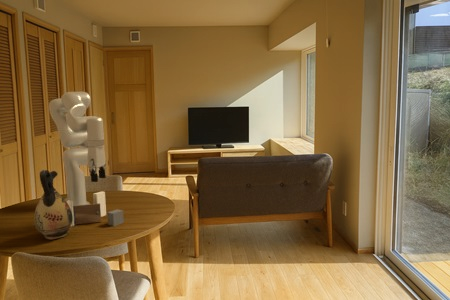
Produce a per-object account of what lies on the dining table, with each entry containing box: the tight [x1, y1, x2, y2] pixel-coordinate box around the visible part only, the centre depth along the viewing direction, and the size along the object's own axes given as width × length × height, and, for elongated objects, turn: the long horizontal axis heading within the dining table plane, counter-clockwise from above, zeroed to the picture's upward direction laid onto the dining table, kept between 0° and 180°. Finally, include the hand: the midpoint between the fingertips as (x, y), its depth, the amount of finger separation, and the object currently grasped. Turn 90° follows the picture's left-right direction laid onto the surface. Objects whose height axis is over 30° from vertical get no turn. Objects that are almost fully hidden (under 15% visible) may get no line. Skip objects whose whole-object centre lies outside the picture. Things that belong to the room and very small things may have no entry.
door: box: [73, 203, 102, 225], centre depth 204 cm, size 3×13×9 cm, turn 105°
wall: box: [66, 191, 107, 227], centre depth 208 cm, size 3×24×12 cm, turn 146°
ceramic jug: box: [33, 169, 73, 240], centre depth 186 cm, size 17×15×30 cm
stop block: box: [106, 208, 125, 227], centre depth 203 cm, size 4×6×6 cm, turn 145°
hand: (98, 179), depth 208 cm, fingers open, 7 cm apart
